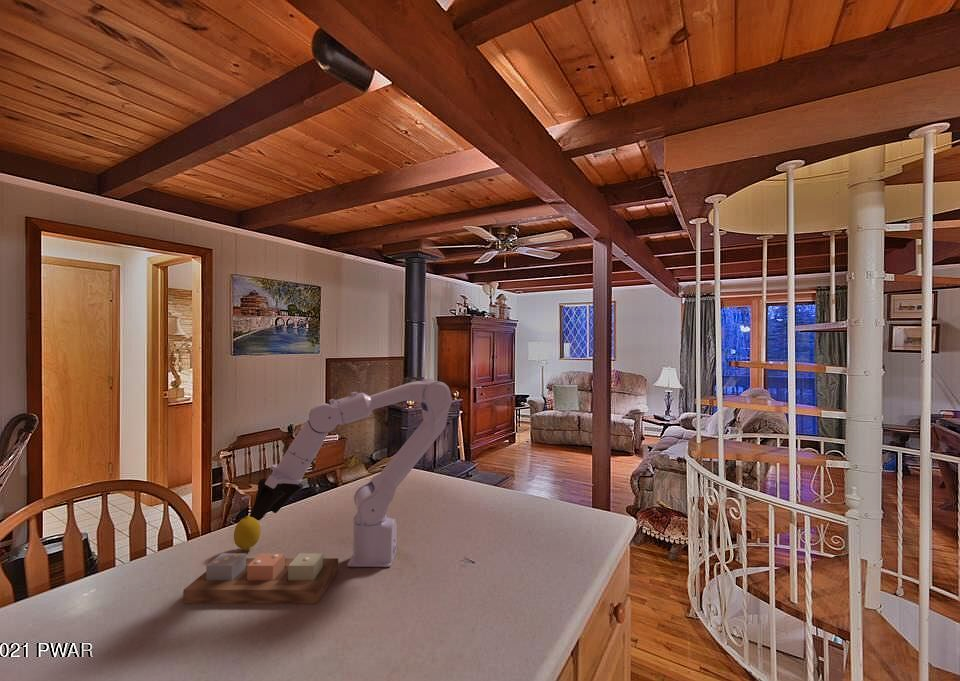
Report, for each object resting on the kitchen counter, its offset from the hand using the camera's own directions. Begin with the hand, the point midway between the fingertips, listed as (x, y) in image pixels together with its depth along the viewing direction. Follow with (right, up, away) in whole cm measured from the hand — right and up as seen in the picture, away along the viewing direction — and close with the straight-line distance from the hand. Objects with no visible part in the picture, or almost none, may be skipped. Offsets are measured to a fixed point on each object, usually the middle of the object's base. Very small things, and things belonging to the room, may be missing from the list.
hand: (263, 514), depth 89 cm
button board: (+2, -13, -3) cm, 14 cm away
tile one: (+10, -11, -3) cm, 16 cm away
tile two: (+2, -11, -3) cm, 12 cm away
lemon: (-10, -13, +12) cm, 20 cm away
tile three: (-6, -11, -3) cm, 13 cm away
